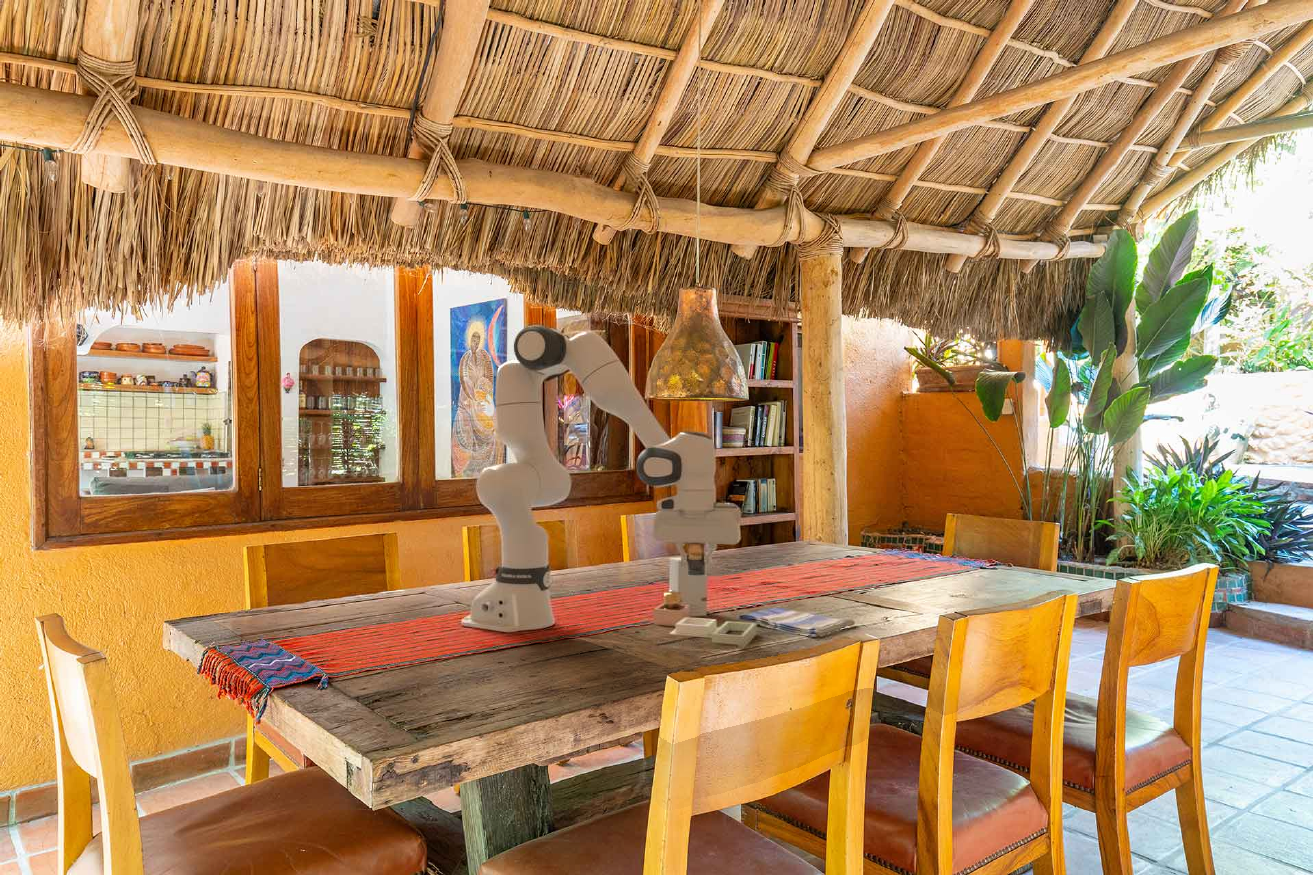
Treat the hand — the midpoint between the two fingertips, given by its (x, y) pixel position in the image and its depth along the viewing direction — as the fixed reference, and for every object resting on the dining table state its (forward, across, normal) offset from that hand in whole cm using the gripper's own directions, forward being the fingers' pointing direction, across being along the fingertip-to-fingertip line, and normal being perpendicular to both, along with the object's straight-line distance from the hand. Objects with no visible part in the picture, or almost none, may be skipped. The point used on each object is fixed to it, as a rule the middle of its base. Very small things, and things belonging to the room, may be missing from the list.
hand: (696, 562), depth 198 cm
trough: (+17, -9, +2) cm, 19 cm away
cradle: (+17, 0, 0) cm, 17 cm away
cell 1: (+16, +8, -7) cm, 19 cm away
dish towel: (+17, -20, -18) cm, 32 cm away
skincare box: (+17, +7, -17) cm, 25 cm away
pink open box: (+17, +8, -7) cm, 20 cm away
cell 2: (+3, 0, 0) cm, 3 cm away
